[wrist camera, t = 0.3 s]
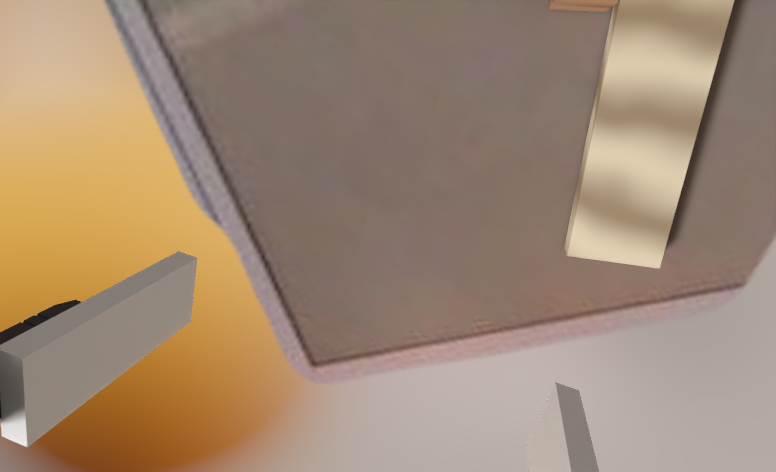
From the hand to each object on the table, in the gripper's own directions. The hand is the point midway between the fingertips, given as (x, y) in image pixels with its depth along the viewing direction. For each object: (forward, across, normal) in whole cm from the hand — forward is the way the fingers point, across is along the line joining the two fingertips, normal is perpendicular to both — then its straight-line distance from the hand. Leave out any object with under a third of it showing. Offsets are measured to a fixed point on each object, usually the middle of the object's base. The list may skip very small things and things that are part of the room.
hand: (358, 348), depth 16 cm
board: (+27, +13, +10) cm, 31 cm away
